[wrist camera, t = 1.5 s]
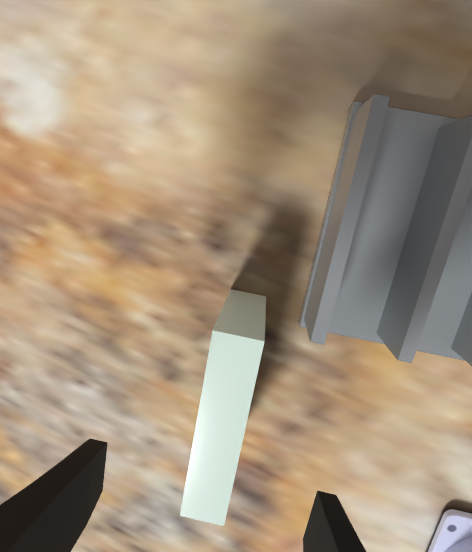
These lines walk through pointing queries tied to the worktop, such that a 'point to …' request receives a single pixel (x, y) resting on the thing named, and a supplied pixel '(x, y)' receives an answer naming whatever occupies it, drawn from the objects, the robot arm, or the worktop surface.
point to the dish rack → (397, 235)
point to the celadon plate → (224, 406)
